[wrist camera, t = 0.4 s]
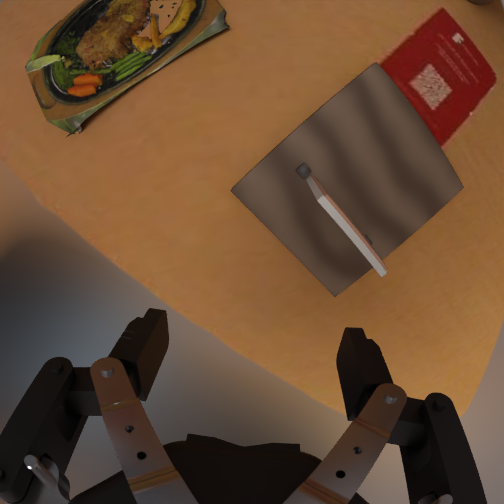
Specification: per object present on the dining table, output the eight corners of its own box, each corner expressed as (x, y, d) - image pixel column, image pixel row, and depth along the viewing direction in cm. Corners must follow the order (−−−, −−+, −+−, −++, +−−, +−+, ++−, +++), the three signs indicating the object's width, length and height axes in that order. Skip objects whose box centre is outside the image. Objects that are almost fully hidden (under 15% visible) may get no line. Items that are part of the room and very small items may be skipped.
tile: (305, 179, 35) (312, 174, 34) (357, 239, 37) (363, 234, 37) (317, 200, 25) (325, 192, 25) (381, 277, 28) (389, 270, 28)
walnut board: (372, 63, 30) (380, 59, 27) (458, 184, 35) (469, 189, 32) (231, 188, 38) (228, 193, 35) (333, 291, 43) (336, 302, 40)
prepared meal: (166, -65, 21) (230, 17, 26) (175, -55, 24) (235, 26, 29) (20, 59, 29) (57, 146, 34) (34, 60, 32) (71, 143, 37)
